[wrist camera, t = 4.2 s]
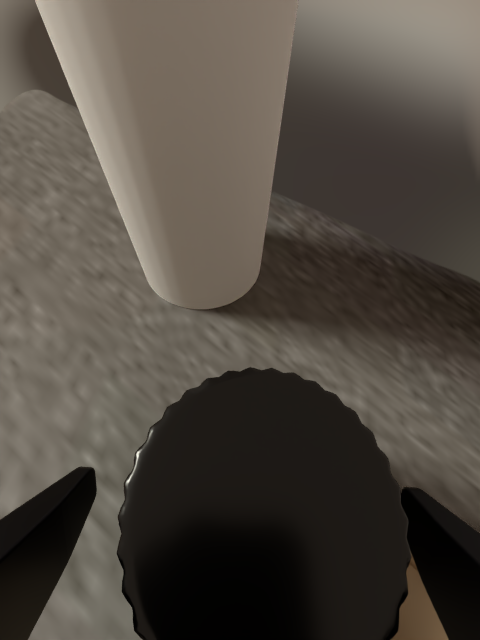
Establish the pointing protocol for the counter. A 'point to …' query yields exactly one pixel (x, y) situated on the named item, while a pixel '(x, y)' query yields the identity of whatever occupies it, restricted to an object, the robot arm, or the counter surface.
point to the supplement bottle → (262, 518)
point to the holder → (418, 612)
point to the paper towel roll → (183, 128)
